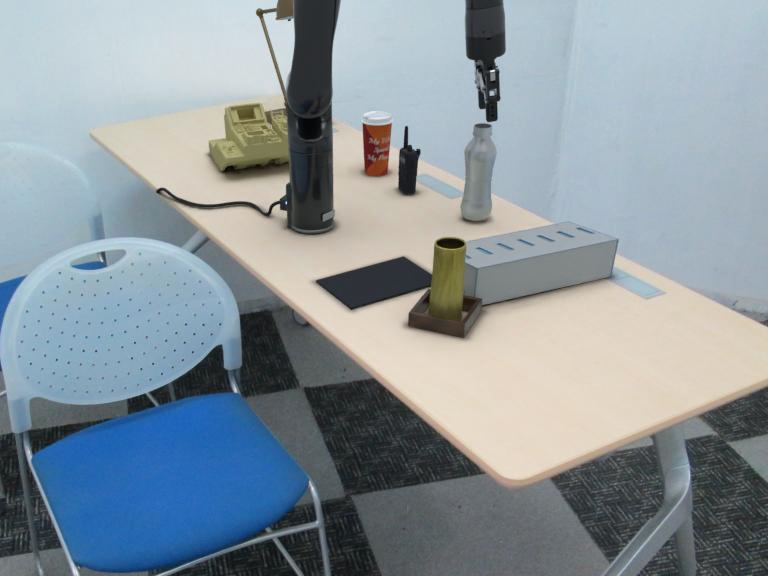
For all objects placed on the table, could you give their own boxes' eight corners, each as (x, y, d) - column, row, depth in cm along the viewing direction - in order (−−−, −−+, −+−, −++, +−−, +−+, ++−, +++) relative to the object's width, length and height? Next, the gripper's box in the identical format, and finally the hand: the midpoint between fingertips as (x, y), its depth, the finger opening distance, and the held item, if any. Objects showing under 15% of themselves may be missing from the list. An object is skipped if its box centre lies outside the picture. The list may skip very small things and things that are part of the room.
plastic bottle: (490, 225, 182) (500, 131, 171) (458, 223, 184) (465, 130, 172) (491, 213, 188) (500, 121, 176) (460, 212, 189) (467, 120, 177)
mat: (351, 309, 153) (351, 307, 153) (315, 281, 163) (315, 280, 163) (442, 283, 161) (442, 281, 161) (403, 257, 170) (403, 256, 170)
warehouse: (564, 247, 172) (570, 212, 168) (611, 276, 161) (618, 239, 156) (433, 275, 163) (435, 237, 159) (473, 307, 152) (477, 268, 148)
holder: (407, 326, 148) (408, 312, 146) (427, 301, 155) (428, 288, 154) (463, 337, 144) (464, 324, 143) (481, 311, 151) (482, 298, 150)
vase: (424, 311, 152) (428, 236, 144) (458, 309, 152) (464, 234, 144) (431, 328, 147) (436, 251, 139) (466, 326, 147) (473, 249, 139)
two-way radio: (395, 188, 202) (397, 124, 193) (412, 186, 203) (415, 122, 194) (405, 196, 197) (407, 131, 189) (422, 193, 199) (426, 128, 190)
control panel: (198, 101, 218) (272, 84, 222) (207, 157, 229) (278, 140, 233) (223, 142, 202) (303, 124, 205) (231, 200, 213) (307, 182, 216)
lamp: (294, 136, 237) (289, -11, 216) (241, 108, 261) (232, -26, 240) (341, 127, 242) (340, -17, 221) (284, 100, 267) (279, -32, 246)
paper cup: (370, 180, 207) (371, 121, 199) (354, 170, 213) (355, 113, 205) (398, 173, 210) (400, 116, 202) (381, 165, 216) (382, 108, 208)
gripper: (459, 25, 170) (463, 107, 179) (471, 42, 158) (475, 128, 167) (497, 18, 169) (500, 101, 178) (512, 35, 157) (514, 122, 167)
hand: (488, 114), depth 173 cm, fingers open, 8 cm apart
